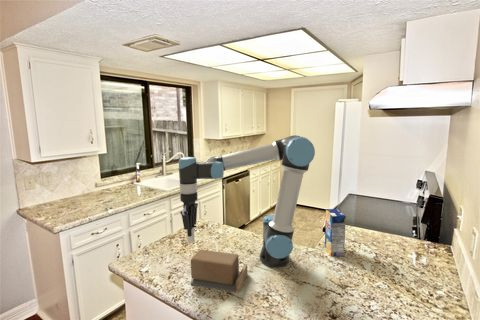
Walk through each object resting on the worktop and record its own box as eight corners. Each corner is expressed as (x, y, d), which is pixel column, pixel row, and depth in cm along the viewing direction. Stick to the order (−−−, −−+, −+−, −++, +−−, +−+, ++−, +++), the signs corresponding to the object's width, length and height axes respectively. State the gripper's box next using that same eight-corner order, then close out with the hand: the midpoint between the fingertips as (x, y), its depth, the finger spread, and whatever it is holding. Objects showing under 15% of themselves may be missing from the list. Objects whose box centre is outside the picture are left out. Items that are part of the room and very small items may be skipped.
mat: (245, 273, 123) (245, 272, 123) (236, 292, 110) (236, 290, 110) (203, 267, 129) (203, 266, 129) (190, 284, 116) (190, 283, 116)
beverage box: (330, 256, 137) (332, 216, 134) (324, 246, 148) (325, 209, 145) (344, 256, 137) (345, 216, 133) (336, 246, 148) (338, 208, 144)
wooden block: (190, 279, 118) (233, 286, 113) (189, 259, 117) (232, 265, 111) (200, 267, 128) (239, 273, 122) (199, 248, 126) (239, 253, 121)
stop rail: (247, 273, 123) (247, 263, 122) (239, 292, 110) (238, 281, 109) (244, 273, 123) (244, 263, 122) (236, 292, 110) (236, 281, 109)
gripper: (187, 187, 124) (190, 234, 128) (173, 195, 112) (176, 247, 115) (202, 188, 122) (204, 236, 126) (189, 196, 110) (192, 249, 113)
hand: (191, 241), depth 120 cm, fingers closed
